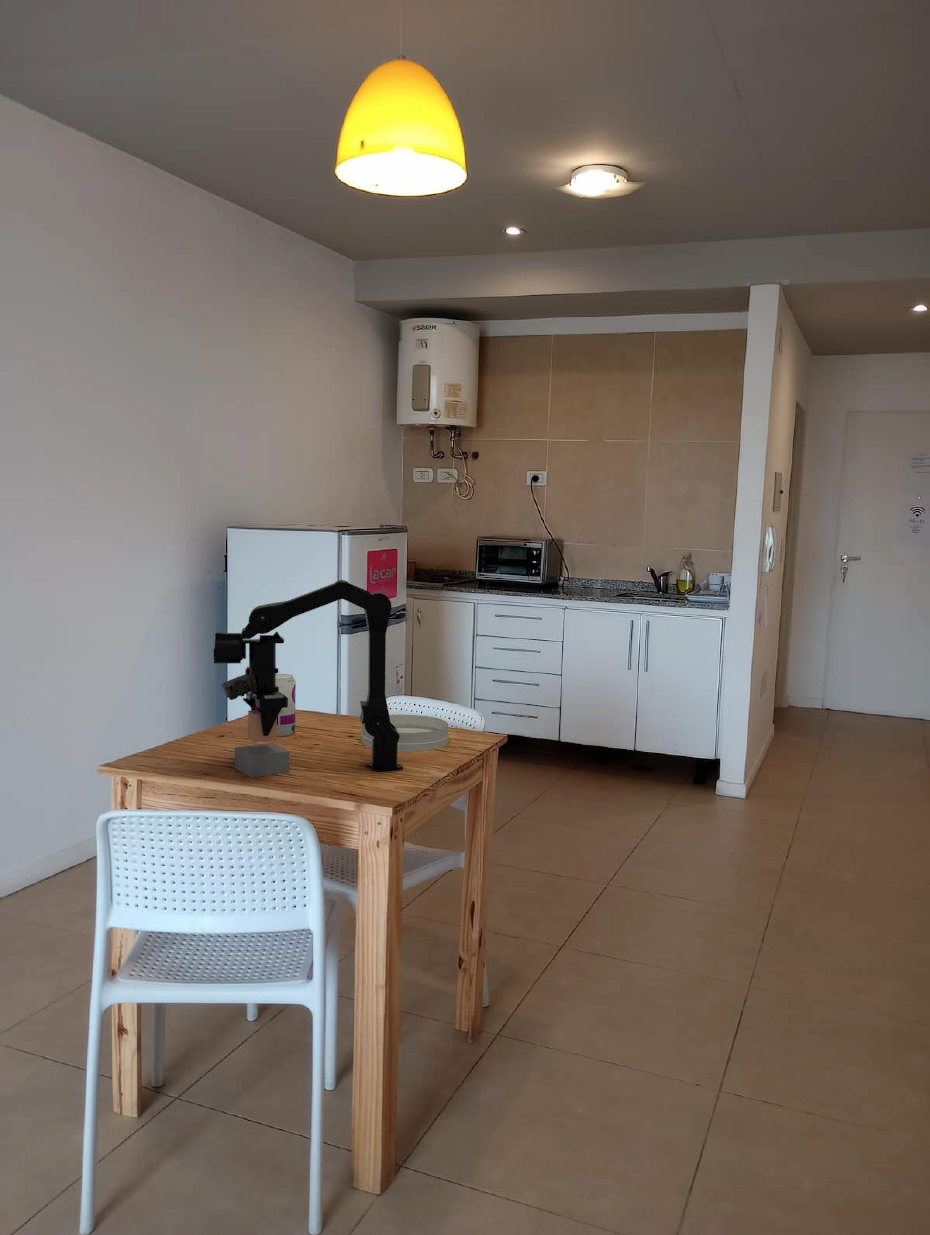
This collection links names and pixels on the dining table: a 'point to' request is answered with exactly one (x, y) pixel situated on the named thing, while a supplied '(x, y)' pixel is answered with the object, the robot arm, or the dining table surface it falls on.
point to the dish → (415, 733)
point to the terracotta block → (259, 728)
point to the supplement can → (287, 714)
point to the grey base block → (262, 759)
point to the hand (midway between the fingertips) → (262, 733)
